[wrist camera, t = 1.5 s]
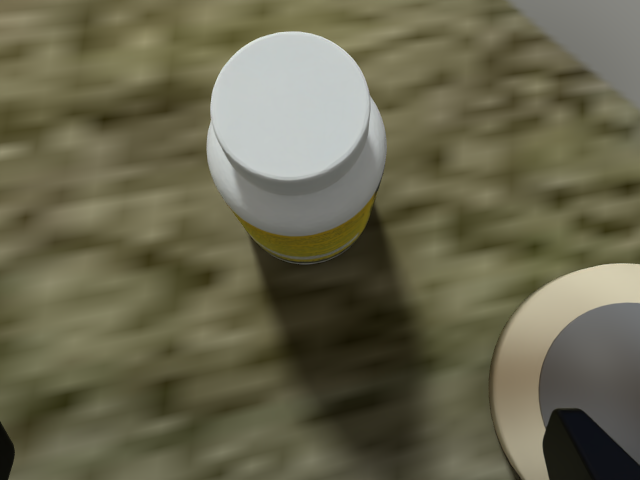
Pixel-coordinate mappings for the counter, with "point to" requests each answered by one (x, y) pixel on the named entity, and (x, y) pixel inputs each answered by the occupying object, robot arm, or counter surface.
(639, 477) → the robot arm
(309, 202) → the supplement bottle
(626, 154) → the counter surface
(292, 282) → the counter surface
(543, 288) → the round plate
